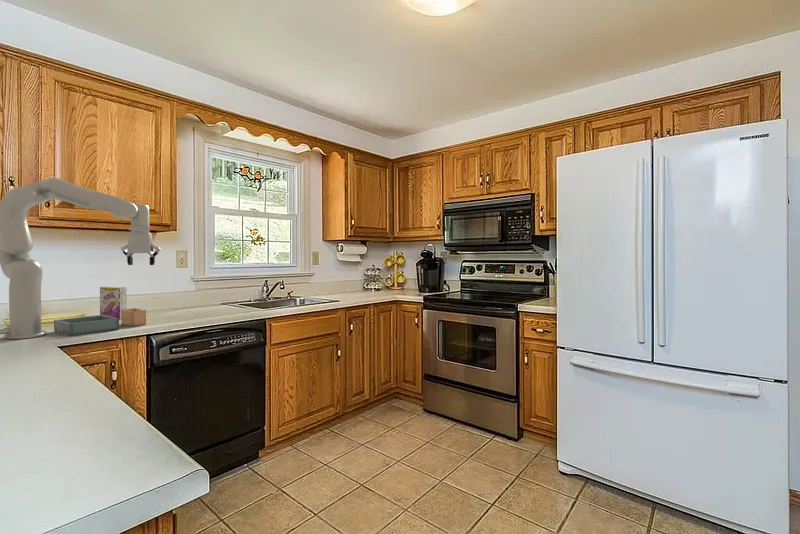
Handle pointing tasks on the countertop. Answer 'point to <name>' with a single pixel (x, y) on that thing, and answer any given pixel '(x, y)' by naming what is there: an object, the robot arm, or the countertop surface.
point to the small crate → (133, 317)
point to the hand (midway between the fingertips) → (141, 265)
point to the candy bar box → (112, 301)
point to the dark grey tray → (86, 325)
